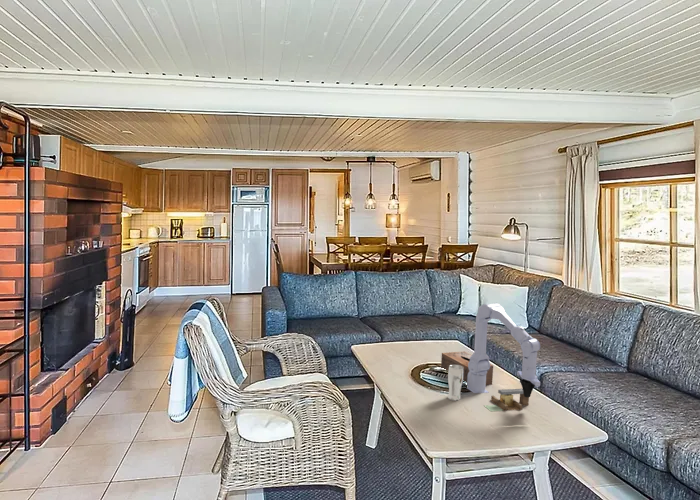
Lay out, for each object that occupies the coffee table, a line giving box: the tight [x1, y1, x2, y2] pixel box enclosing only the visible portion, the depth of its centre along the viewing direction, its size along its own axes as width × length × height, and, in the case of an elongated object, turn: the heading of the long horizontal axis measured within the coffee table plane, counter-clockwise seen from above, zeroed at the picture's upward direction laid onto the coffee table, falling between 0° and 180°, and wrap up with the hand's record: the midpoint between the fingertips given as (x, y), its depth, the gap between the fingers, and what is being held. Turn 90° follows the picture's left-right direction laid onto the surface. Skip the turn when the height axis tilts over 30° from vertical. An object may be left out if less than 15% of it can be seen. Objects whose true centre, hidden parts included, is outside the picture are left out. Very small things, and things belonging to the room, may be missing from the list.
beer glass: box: [447, 365, 464, 402], centre depth 222 cm, size 7×7×15 cm
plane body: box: [490, 394, 530, 411], centre depth 217 cm, size 12×15×6 cm
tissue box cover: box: [440, 351, 494, 386], centre depth 254 cm, size 26×14×10 cm, turn 20°
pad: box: [484, 404, 504, 412], centre depth 212 cm, size 6×6×1 cm
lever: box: [497, 388, 524, 395], centre depth 217 cm, size 3×14×1 cm, turn 103°
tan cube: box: [499, 393, 514, 406], centre depth 217 cm, size 4×4×5 cm
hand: (526, 396), depth 212 cm, fingers closed
